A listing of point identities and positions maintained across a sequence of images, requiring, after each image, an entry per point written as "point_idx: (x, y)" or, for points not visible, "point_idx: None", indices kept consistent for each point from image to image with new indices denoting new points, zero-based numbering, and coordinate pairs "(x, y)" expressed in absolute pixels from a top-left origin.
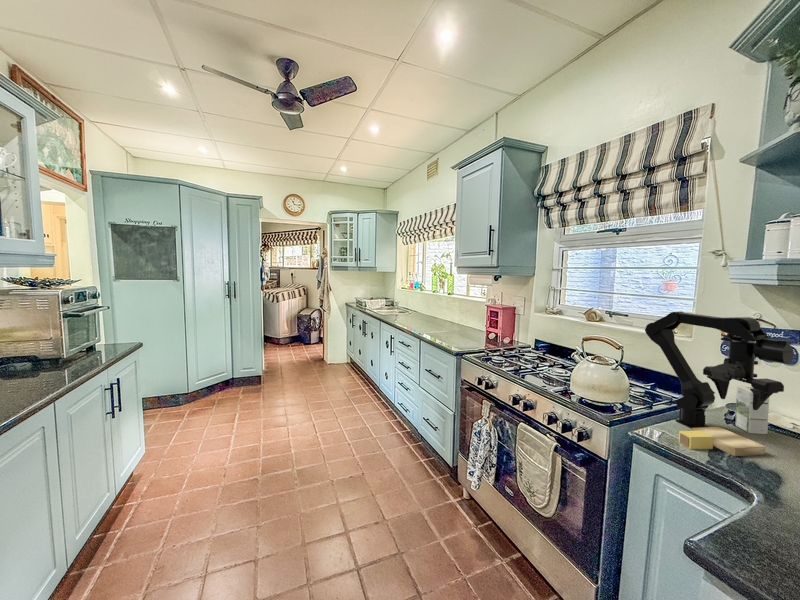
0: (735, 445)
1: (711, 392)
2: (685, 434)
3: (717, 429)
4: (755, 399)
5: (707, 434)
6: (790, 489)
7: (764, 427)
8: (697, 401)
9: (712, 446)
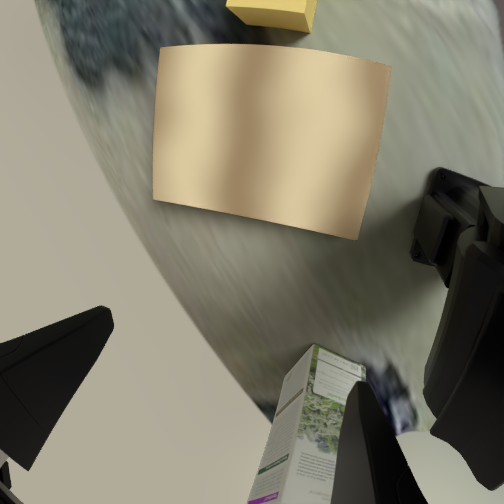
0: (175, 72)
1: (451, 416)
2: None
3: (336, 191)
4: (19, 342)
5: (254, 1)
6: (52, 48)
7: (284, 389)
8: (495, 215)
9: (243, 20)
